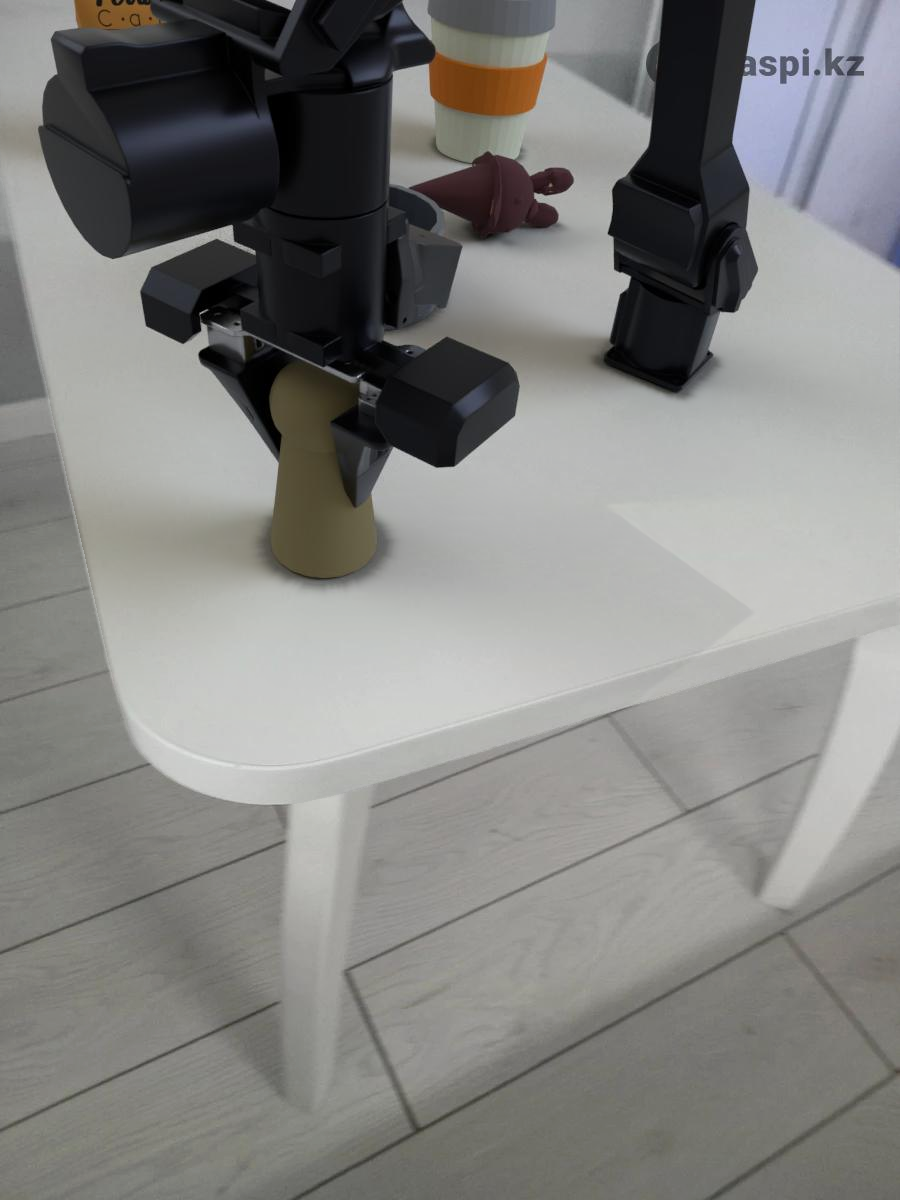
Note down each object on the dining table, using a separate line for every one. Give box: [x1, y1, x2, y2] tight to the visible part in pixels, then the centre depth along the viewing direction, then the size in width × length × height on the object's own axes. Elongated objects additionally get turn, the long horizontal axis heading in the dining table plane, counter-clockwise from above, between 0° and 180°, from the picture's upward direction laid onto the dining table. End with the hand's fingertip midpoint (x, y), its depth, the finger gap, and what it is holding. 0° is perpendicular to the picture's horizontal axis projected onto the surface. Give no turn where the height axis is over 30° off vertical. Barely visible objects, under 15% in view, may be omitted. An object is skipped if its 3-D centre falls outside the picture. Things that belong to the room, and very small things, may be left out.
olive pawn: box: [269, 359, 378, 579], centre depth 48 cm, size 6×6×11 cm
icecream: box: [407, 151, 575, 239], centre depth 81 cm, size 7×7×15 cm
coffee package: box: [73, 0, 165, 30], centre depth 82 cm, size 10×12×22 cm
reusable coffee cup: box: [426, 0, 557, 164], centre depth 93 cm, size 13×13×15 cm
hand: (325, 485), depth 49 cm, fingers closed on olive pawn, 4 cm apart
